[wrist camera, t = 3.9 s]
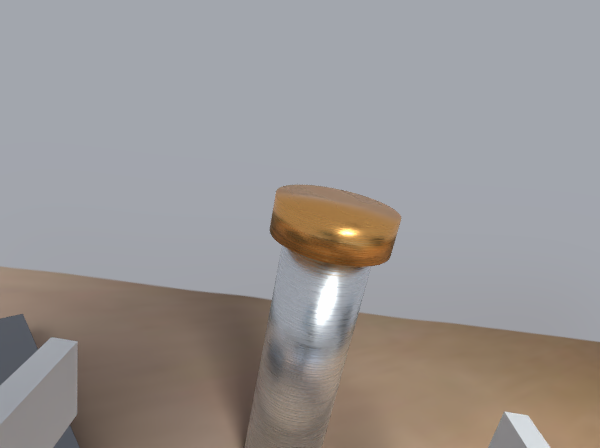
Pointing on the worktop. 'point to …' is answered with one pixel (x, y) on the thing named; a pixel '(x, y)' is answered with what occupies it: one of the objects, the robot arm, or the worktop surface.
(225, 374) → the worktop surface
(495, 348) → the worktop surface
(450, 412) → the worktop surface
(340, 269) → the steel pin
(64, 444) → the plate
